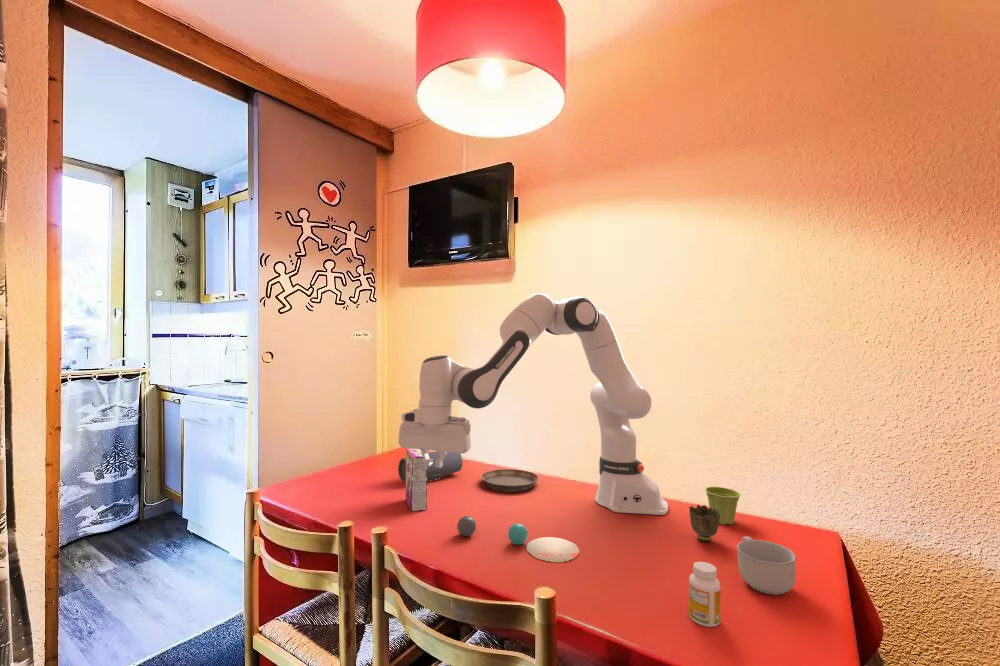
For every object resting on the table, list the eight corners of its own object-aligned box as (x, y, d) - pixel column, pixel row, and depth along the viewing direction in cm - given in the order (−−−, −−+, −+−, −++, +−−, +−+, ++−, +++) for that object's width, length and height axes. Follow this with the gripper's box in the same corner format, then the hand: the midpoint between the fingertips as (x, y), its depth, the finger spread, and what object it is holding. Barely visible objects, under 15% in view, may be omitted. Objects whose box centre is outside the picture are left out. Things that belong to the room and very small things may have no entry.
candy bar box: (404, 499, 141) (405, 448, 142) (419, 498, 143) (421, 447, 144) (410, 512, 131) (412, 457, 131) (427, 510, 133) (428, 455, 133)
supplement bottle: (711, 610, 85) (711, 559, 86) (726, 628, 80) (726, 573, 80) (683, 610, 85) (684, 559, 85) (697, 628, 80) (697, 573, 80)
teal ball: (529, 541, 114) (529, 521, 114) (524, 549, 109) (525, 529, 109) (510, 538, 115) (511, 519, 115) (505, 546, 110) (505, 526, 110)
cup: (702, 547, 112) (702, 516, 112) (682, 535, 119) (683, 505, 119) (726, 545, 114) (726, 513, 114) (706, 533, 121) (706, 503, 121)
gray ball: (478, 533, 118) (479, 514, 118) (471, 541, 113) (472, 521, 113) (461, 530, 119) (461, 511, 119) (453, 538, 114) (454, 518, 115)
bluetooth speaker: (449, 471, 174) (450, 446, 174) (463, 477, 167) (463, 450, 167) (396, 482, 159) (397, 454, 160) (409, 488, 152) (409, 459, 153)
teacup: (805, 605, 88) (805, 564, 88) (746, 598, 90) (746, 558, 90) (776, 570, 101) (776, 535, 102) (725, 564, 104) (726, 530, 104)
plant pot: (709, 512, 136) (709, 484, 136) (743, 520, 130) (743, 491, 130) (700, 521, 129) (701, 491, 129) (736, 530, 123) (736, 499, 123)
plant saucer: (480, 476, 169) (480, 468, 169) (534, 476, 170) (534, 468, 170) (481, 495, 148) (481, 485, 148) (542, 495, 150) (542, 485, 150)
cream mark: (582, 542, 114) (582, 541, 114) (575, 566, 101) (575, 565, 101) (533, 534, 117) (533, 534, 117) (520, 557, 105) (520, 556, 105)
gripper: (474, 416, 120) (473, 467, 119) (407, 411, 126) (406, 460, 125) (466, 419, 114) (464, 473, 113) (396, 414, 120) (394, 465, 119)
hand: (433, 466), depth 119 cm, fingers closed
